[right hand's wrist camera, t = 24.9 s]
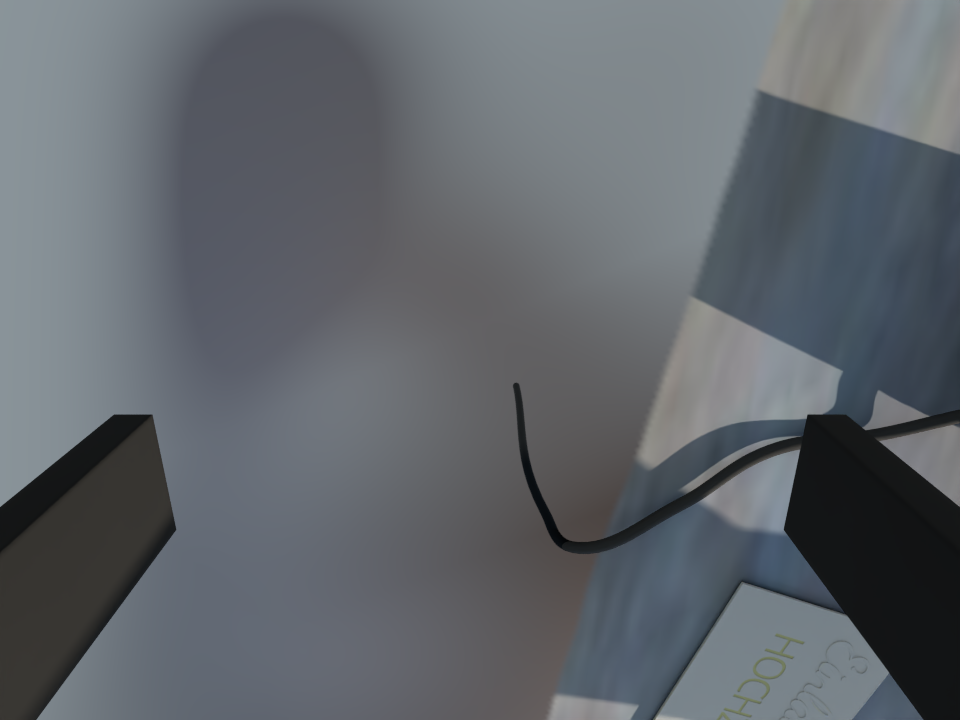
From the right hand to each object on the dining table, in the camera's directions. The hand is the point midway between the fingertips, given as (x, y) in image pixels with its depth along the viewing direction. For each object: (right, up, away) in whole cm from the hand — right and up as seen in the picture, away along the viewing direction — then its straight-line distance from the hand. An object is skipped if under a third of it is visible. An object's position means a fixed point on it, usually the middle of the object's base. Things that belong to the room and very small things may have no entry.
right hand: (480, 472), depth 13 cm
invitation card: (+23, -26, +38) cm, 51 cm away
